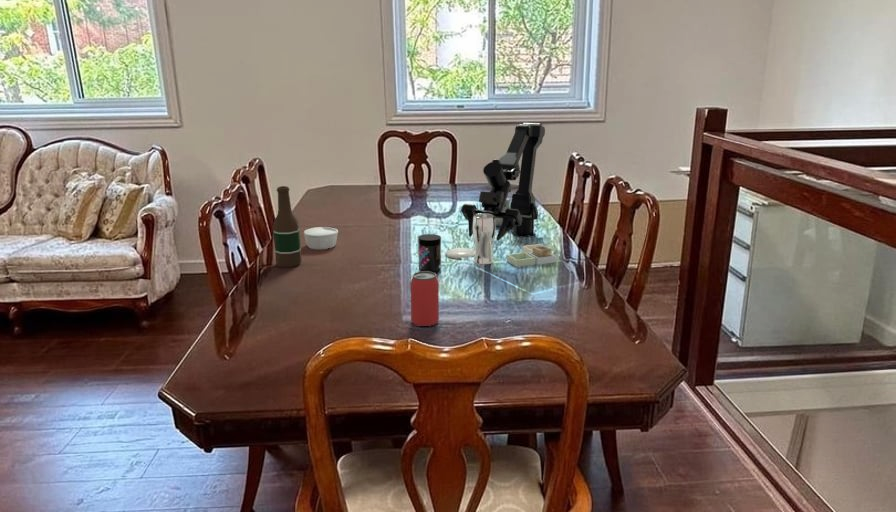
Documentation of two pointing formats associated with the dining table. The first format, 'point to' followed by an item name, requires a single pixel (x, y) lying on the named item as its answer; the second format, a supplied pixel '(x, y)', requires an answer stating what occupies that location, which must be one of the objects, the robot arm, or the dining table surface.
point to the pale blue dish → (543, 259)
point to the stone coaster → (460, 253)
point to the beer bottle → (286, 232)
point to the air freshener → (498, 220)
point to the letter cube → (541, 251)
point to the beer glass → (483, 237)
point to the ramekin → (321, 237)
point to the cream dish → (529, 248)
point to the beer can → (424, 298)
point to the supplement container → (429, 252)
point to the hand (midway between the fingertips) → (483, 237)
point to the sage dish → (520, 259)
